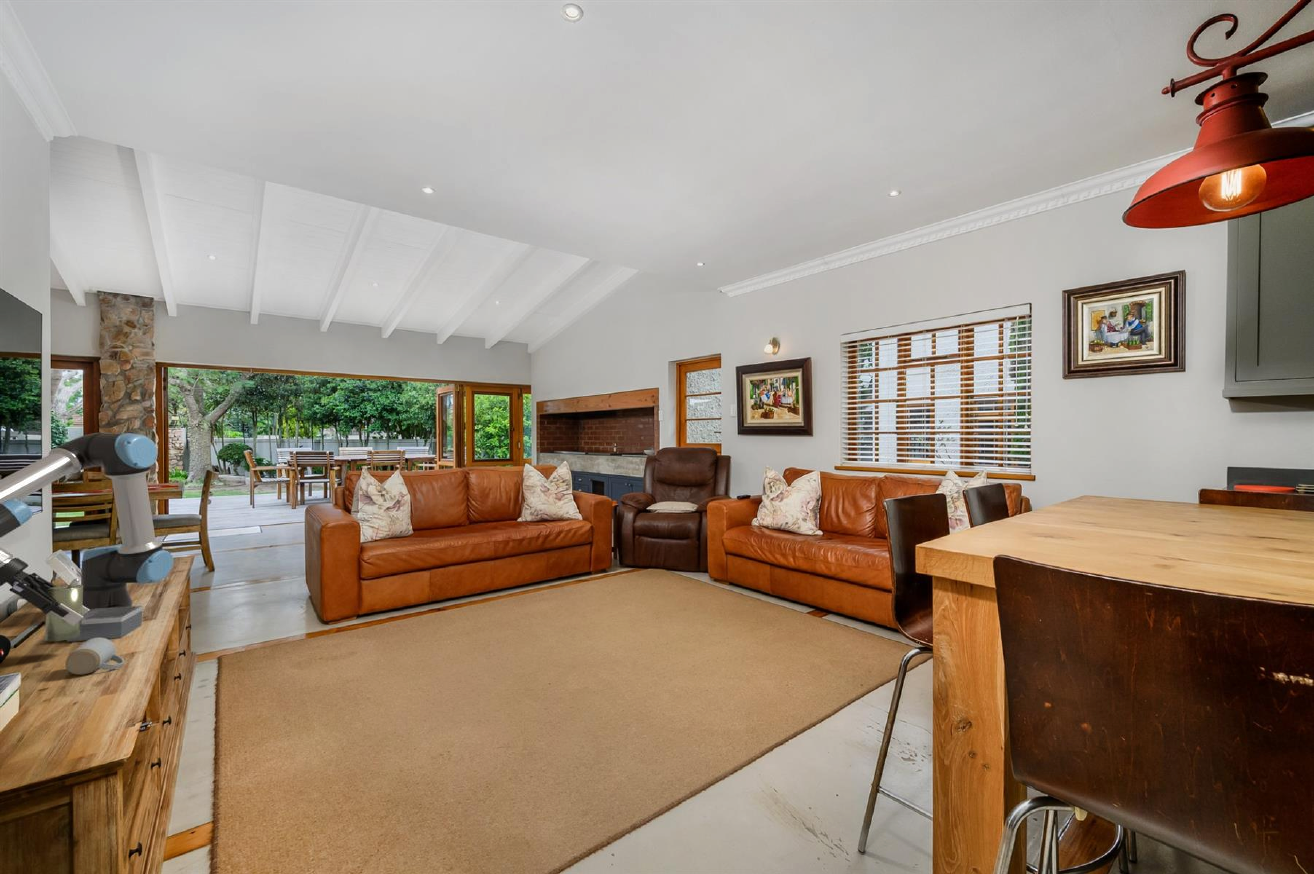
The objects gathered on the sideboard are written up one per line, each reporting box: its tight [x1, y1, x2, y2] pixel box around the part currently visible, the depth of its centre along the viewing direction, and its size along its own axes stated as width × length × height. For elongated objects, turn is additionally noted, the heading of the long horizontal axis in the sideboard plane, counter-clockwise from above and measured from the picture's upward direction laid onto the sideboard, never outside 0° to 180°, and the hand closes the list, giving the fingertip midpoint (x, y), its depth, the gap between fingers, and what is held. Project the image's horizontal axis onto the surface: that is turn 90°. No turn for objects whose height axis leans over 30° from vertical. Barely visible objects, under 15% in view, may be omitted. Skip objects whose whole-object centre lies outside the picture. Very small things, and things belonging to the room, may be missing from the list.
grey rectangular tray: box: [66, 605, 143, 643], centre depth 178 cm, size 16×13×6 cm
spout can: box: [44, 578, 83, 642], centre depth 158 cm, size 7×7×16 cm
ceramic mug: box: [65, 638, 125, 676], centre depth 150 cm, size 11×8×8 cm
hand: (81, 617), depth 160 cm, fingers closed on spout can, 7 cm apart
